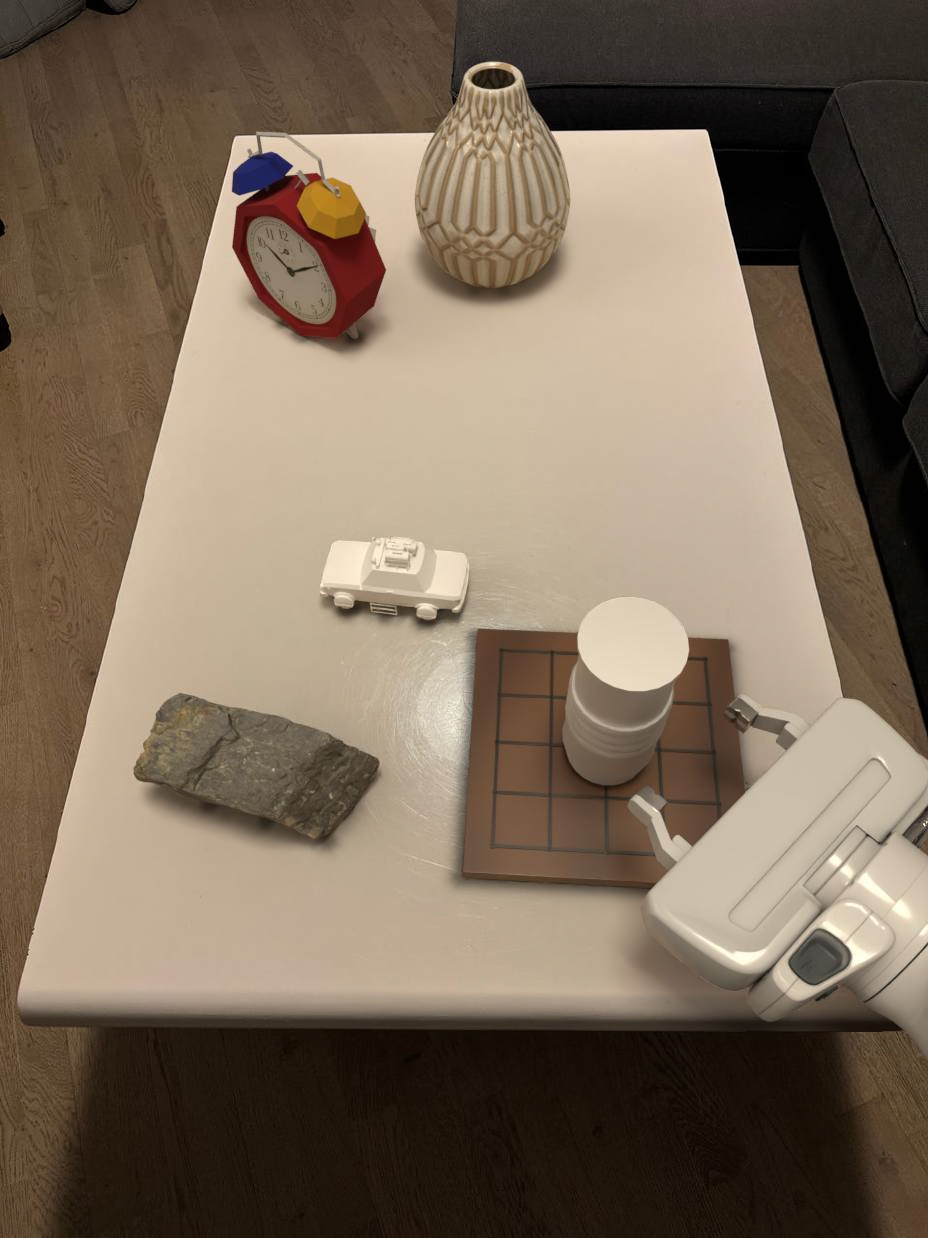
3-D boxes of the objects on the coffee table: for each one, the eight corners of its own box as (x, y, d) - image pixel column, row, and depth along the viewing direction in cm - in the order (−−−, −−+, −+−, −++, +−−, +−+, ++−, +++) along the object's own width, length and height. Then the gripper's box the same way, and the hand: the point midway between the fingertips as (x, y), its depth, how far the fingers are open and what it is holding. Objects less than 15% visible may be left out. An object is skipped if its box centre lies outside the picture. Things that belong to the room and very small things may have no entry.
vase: (543, 324, 97) (555, 135, 81) (398, 295, 100) (381, 107, 83) (580, 233, 106) (598, 44, 89) (445, 209, 108) (438, 22, 92)
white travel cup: (671, 741, 70) (712, 634, 57) (618, 810, 67) (649, 713, 55) (595, 690, 72) (618, 576, 60) (540, 754, 70) (553, 650, 57)
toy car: (335, 556, 81) (324, 505, 76) (472, 571, 80) (472, 521, 75) (319, 613, 78) (306, 564, 73) (462, 630, 77) (460, 582, 71)
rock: (114, 836, 63) (129, 691, 66) (152, 844, 70) (164, 711, 73) (368, 832, 62) (371, 686, 65) (382, 841, 69) (384, 707, 72)
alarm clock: (246, 309, 99) (198, 122, 83) (300, 266, 103) (265, 79, 86) (354, 365, 94) (327, 178, 78) (407, 318, 98) (391, 130, 81)
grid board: (725, 646, 76) (728, 638, 75) (751, 893, 65) (755, 888, 64) (477, 636, 77) (477, 627, 76) (462, 878, 66) (462, 872, 65)
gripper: (989, 771, 56) (797, 628, 62) (777, 1022, 49) (581, 834, 54) (945, 810, 61) (772, 675, 67) (748, 1043, 54) (572, 869, 59)
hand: (685, 748), depth 60 cm, fingers open, 8 cm apart
